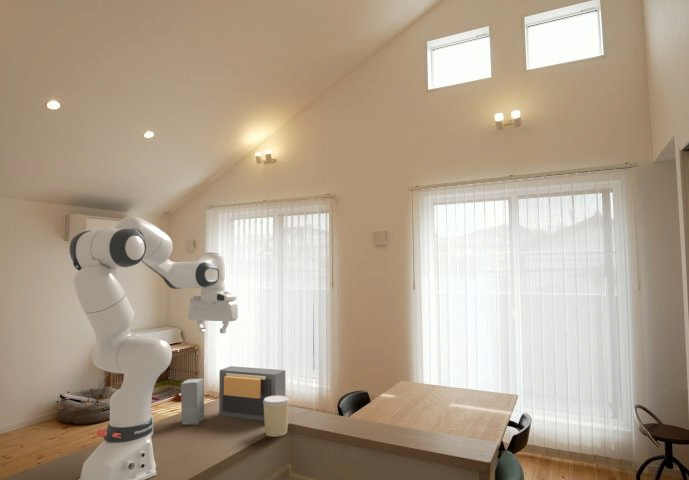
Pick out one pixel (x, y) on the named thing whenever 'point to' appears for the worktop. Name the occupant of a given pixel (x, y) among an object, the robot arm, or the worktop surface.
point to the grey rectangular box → (243, 405)
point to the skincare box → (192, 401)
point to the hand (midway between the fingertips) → (212, 332)
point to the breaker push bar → (242, 387)
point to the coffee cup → (276, 415)
